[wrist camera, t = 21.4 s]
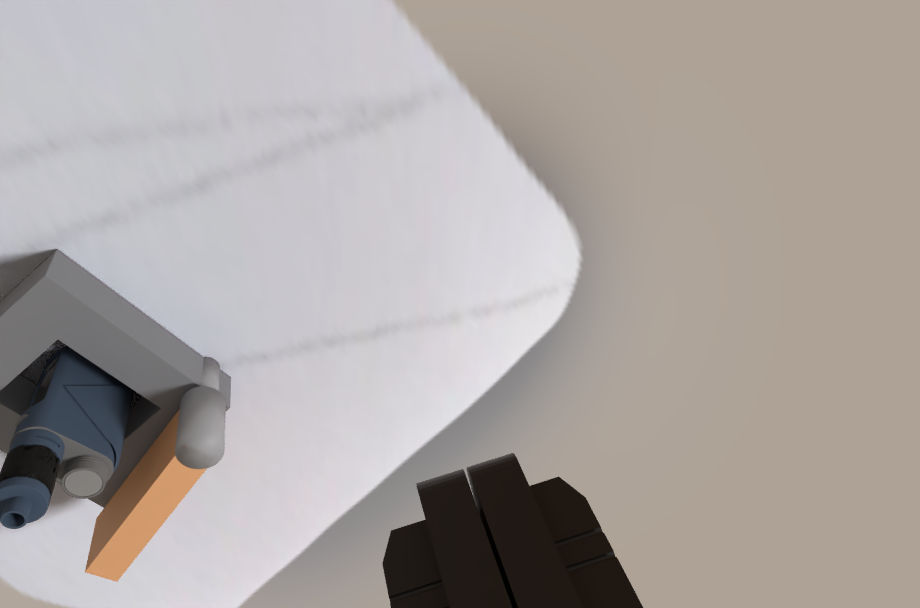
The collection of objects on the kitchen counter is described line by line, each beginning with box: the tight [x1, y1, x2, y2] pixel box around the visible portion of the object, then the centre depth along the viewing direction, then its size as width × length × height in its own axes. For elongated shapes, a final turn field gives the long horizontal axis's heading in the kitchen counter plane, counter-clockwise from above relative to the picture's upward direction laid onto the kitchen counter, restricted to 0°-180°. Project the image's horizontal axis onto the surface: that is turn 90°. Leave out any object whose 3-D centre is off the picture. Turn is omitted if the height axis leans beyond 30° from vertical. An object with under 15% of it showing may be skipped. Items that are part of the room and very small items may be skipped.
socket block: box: [0, 249, 231, 508], centre depth 43 cm, size 12×10×3 cm
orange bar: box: [85, 386, 226, 582], centre depth 43 cm, size 11×2×4 cm, turn 140°
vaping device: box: [0, 347, 132, 529], centre depth 39 cm, size 3×5×12 cm, turn 43°
